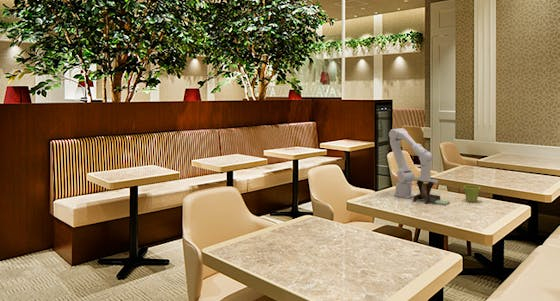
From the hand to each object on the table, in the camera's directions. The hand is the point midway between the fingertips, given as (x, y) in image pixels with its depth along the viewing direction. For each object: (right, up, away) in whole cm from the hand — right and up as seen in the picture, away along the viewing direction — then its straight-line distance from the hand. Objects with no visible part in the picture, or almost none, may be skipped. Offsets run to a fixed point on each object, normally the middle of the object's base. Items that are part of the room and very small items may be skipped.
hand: (424, 193), depth 262 cm
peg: (0, -2, 0) cm, 2 cm away
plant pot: (+28, -5, -2) cm, 28 cm away
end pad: (+8, -5, -6) cm, 11 cm away
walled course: (+1, -5, -2) cm, 5 cm away
